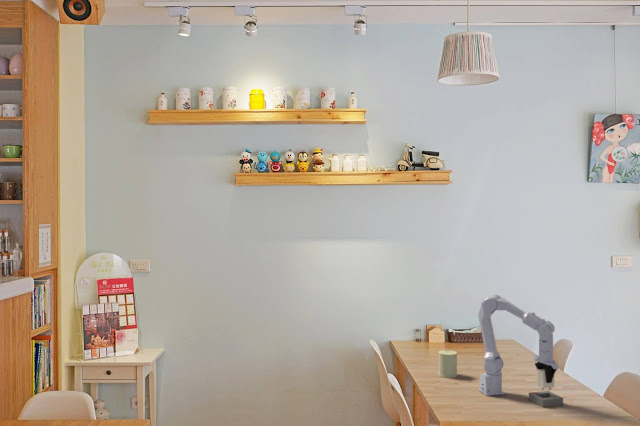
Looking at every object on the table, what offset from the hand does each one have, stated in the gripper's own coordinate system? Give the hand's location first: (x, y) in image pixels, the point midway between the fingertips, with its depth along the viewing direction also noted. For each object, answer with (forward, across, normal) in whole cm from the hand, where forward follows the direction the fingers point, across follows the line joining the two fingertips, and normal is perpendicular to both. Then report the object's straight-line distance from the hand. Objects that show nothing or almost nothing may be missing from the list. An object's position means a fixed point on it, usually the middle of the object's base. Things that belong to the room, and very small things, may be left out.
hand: (545, 381), depth 259 cm
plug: (+3, 0, 0) cm, 3 cm away
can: (+10, +48, +23) cm, 54 cm away
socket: (+9, 0, 0) cm, 9 cm away
